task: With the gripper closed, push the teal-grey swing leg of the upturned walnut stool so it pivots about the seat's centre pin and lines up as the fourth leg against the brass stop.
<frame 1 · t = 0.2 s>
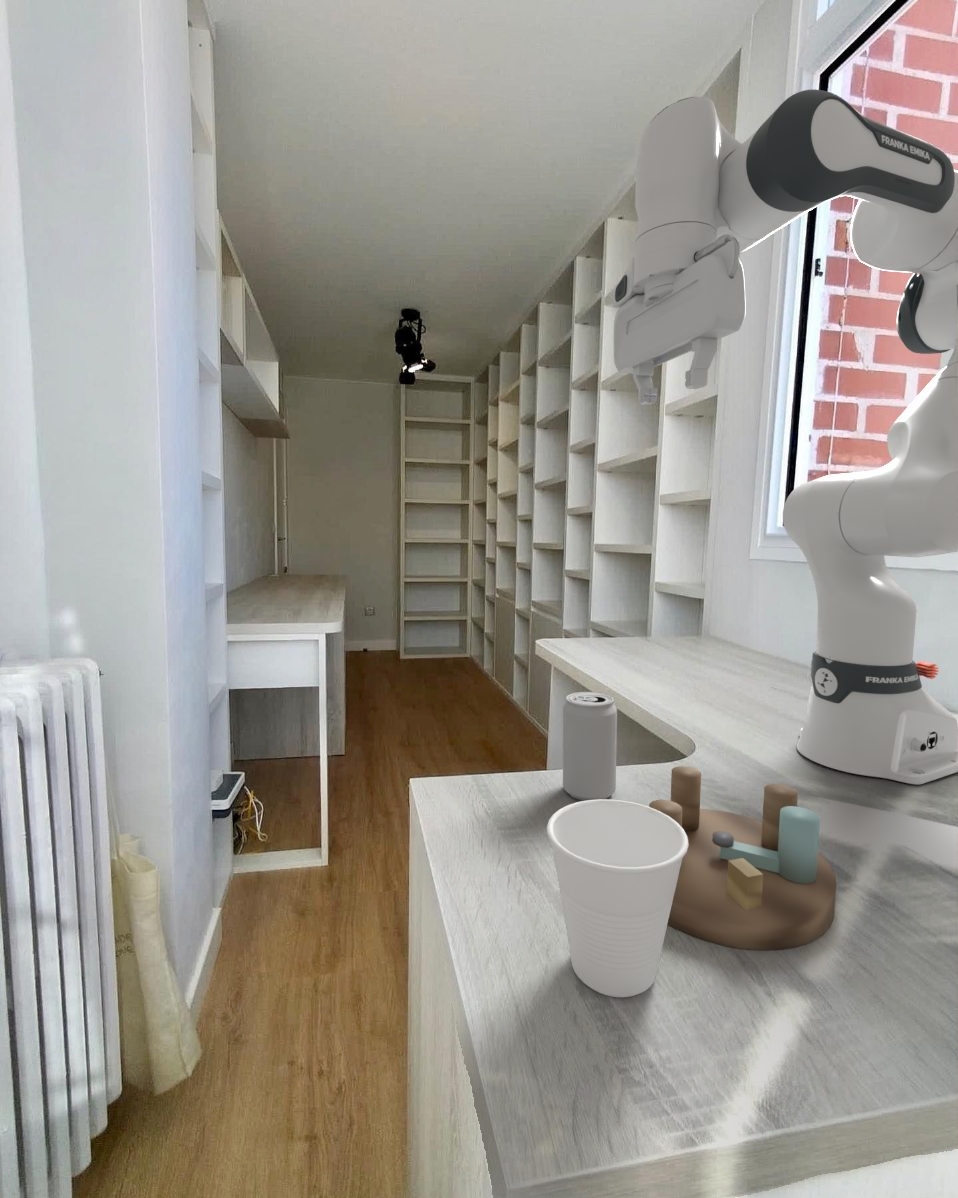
hand: (670, 396, 69), 47 cm above the table, fingers open, 8 cm apart
swing leg: (763, 836, 53), point 5 cm above the table, hinge at 45.0°
stool seat: (721, 881, 55), on the table
beverage can: (588, 794, 74), on the table
cup: (613, 971, 45), on the table
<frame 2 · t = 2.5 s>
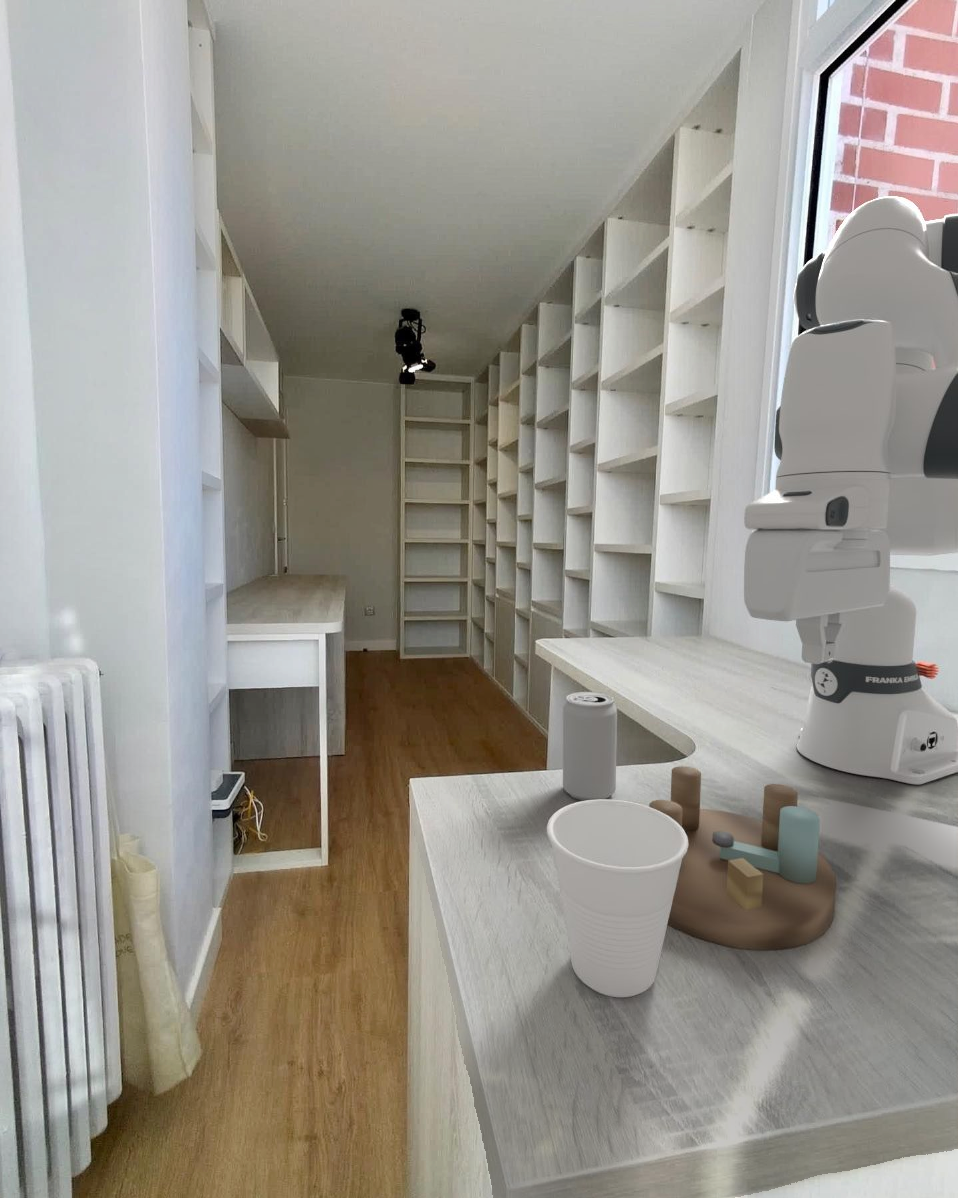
hand: (818, 661, 55), 20 cm above the table, fingers closed
nothing on the table moved.
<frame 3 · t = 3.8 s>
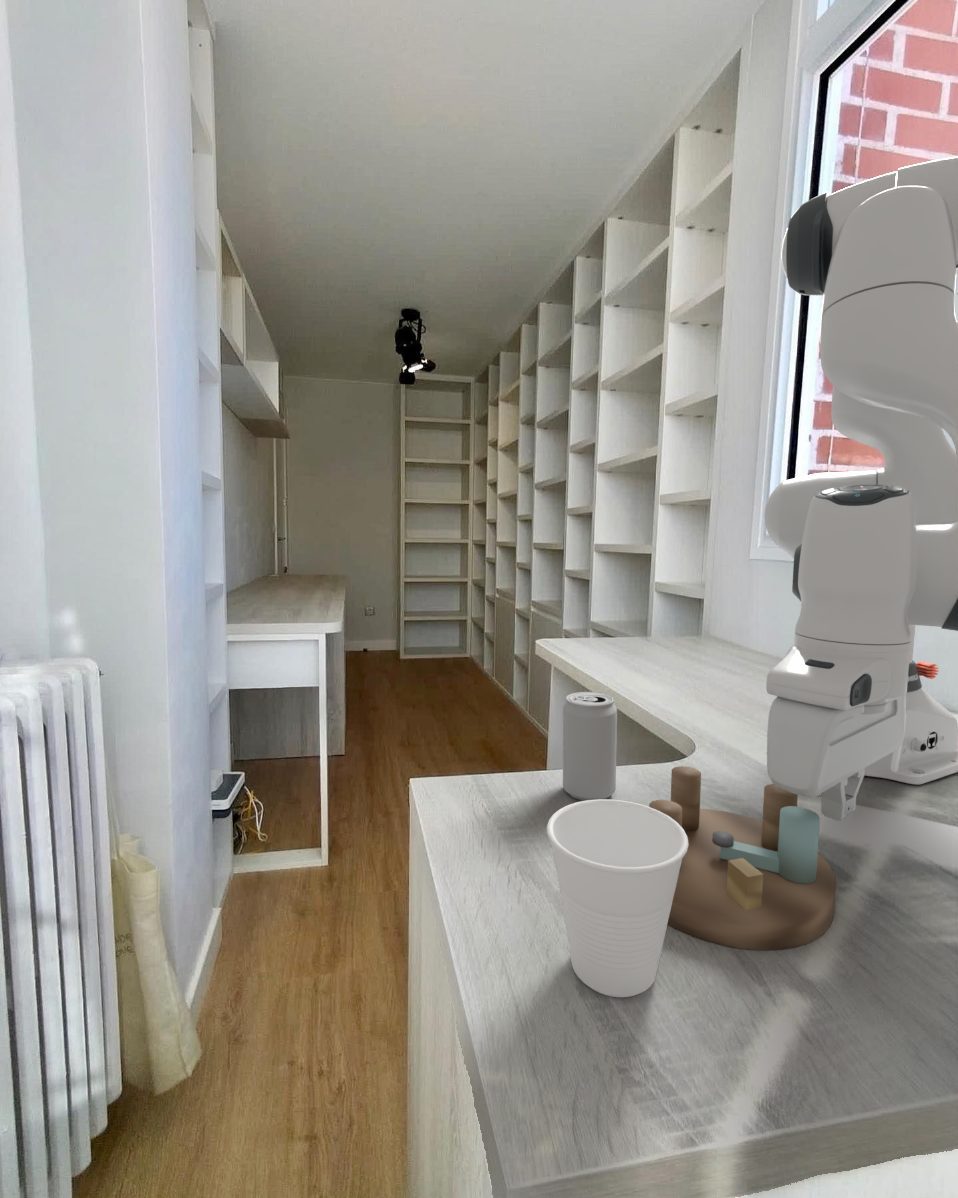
hand: (837, 814, 56), 6 cm above the table, fingers closed
nothing on the table moved.
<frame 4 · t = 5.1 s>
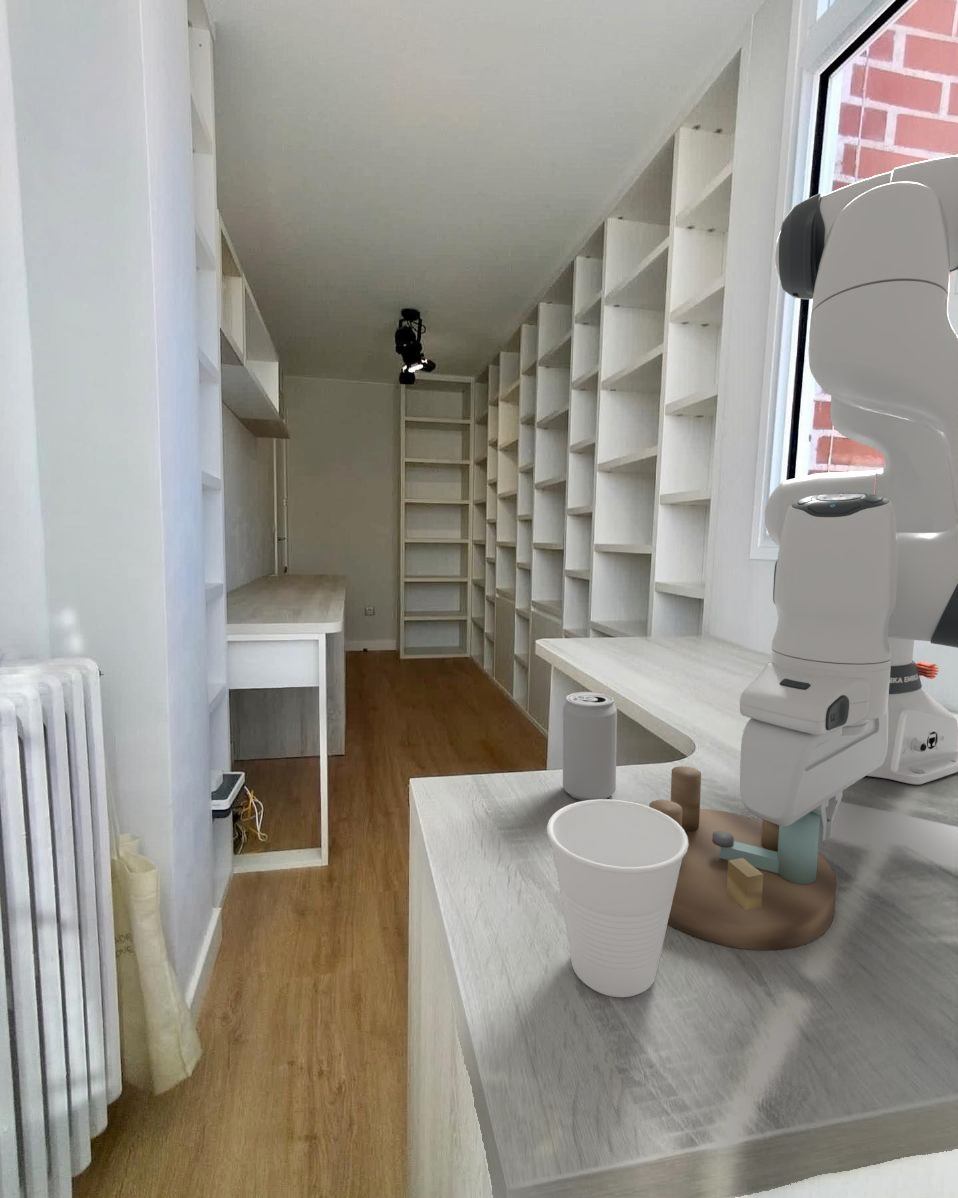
hand: (816, 837, 53), 5 cm above the table, fingers closed
swing leg: (763, 836, 53), point 5 cm above the table, hinge at 44.3°, touching gripper
everything else where it was.
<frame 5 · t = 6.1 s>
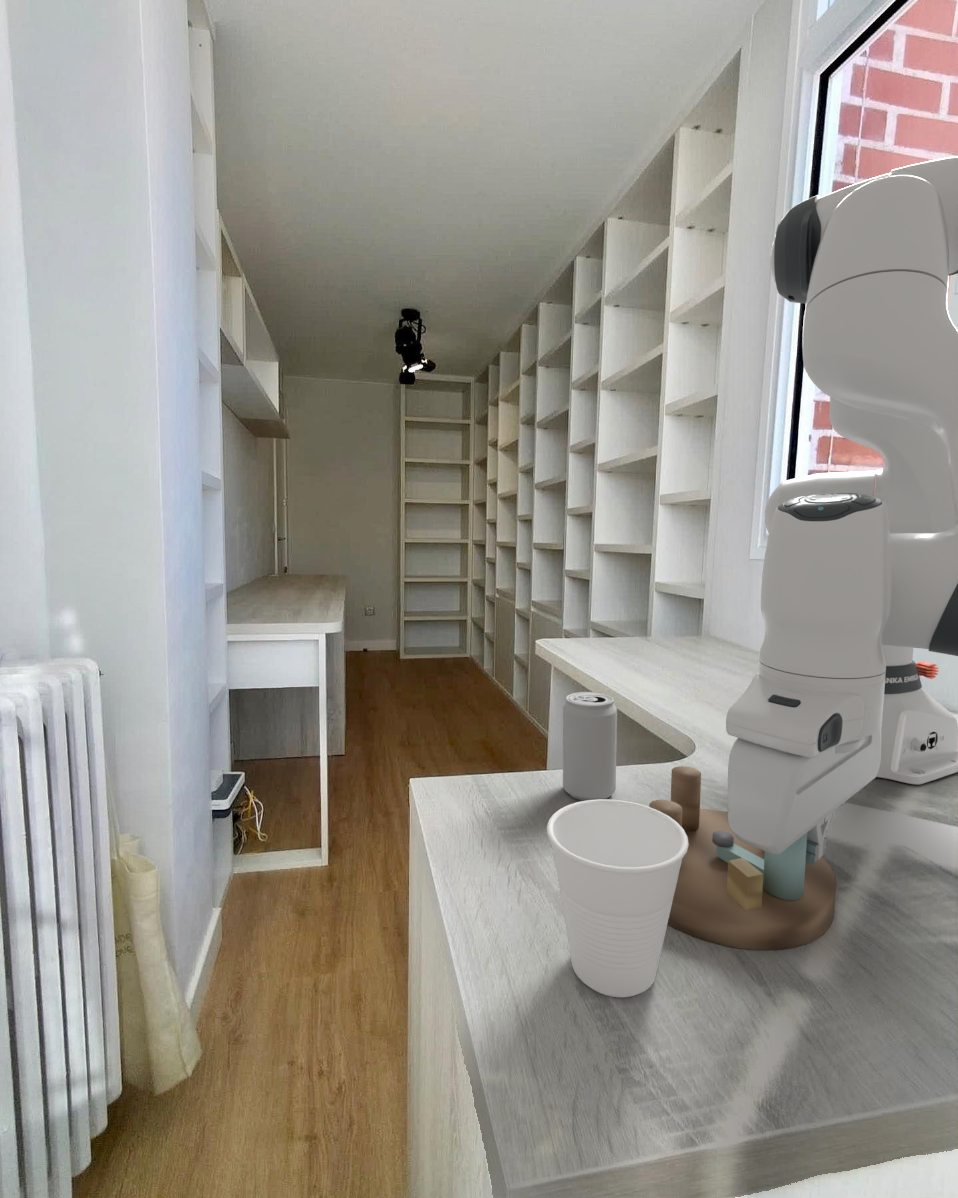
hand: (808, 857, 50), 5 cm above the table, fingers closed, pressing on swing leg
swing leg: (755, 843, 52), point 5 cm above the table, hinge at 14.7°, touching gripper
everything else where it was.
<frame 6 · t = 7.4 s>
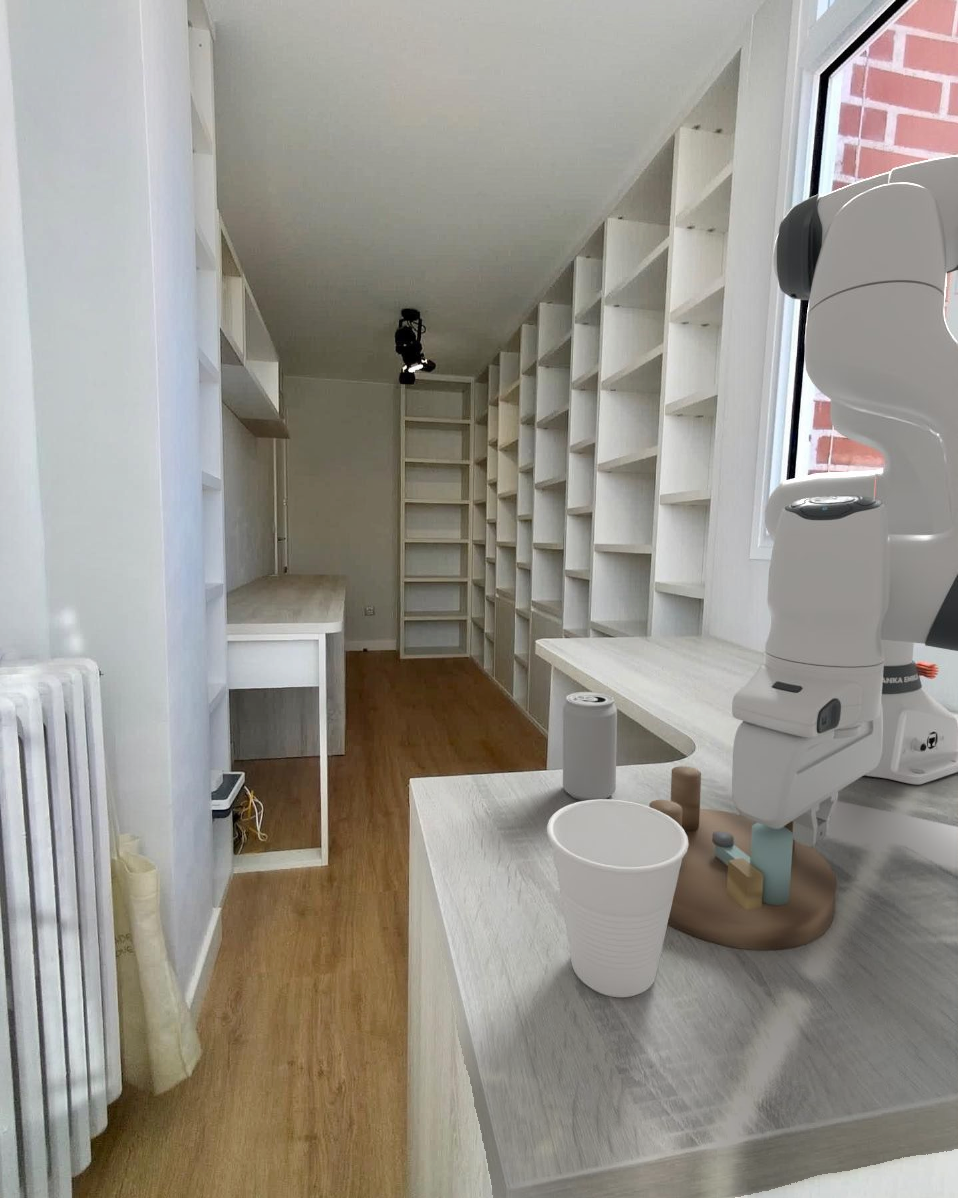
hand: (810, 839, 53), 5 cm above the table, fingers closed
swing leg: (748, 845, 52), point 5 cm above the table, hinge at -0.2°
everything else where it was.
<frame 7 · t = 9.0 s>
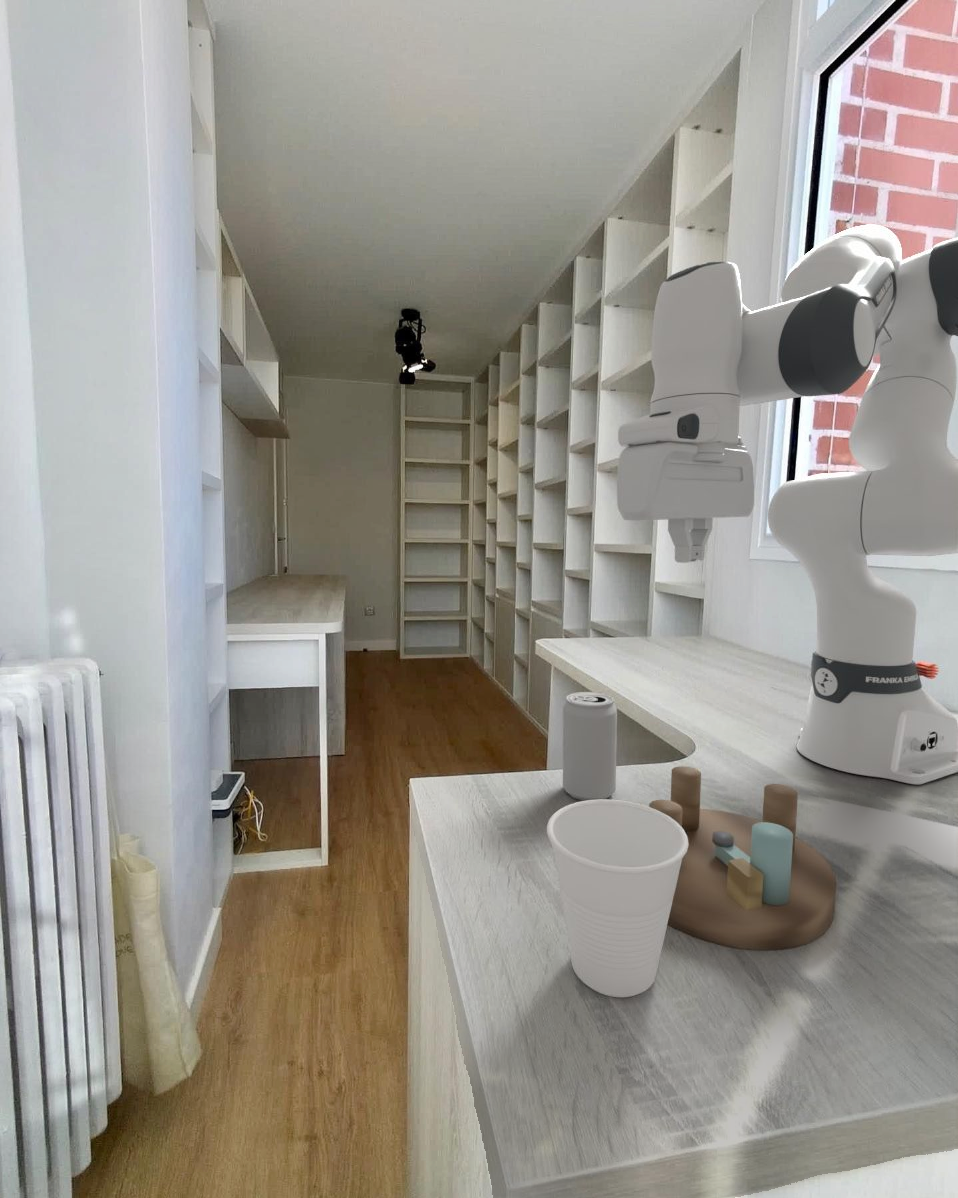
hand: (689, 561, 65), 28 cm above the table, fingers closed
nothing on the table moved.
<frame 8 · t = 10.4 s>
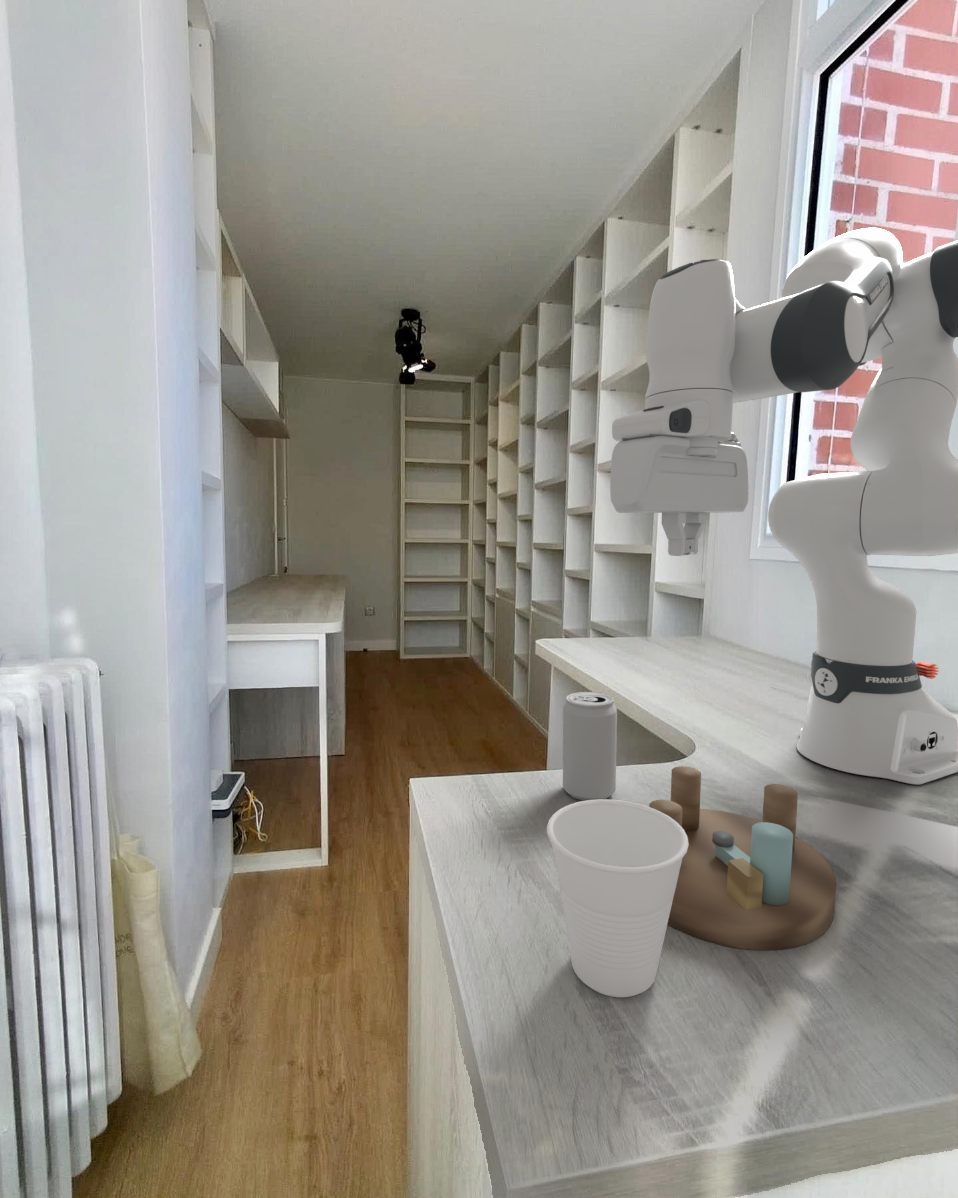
hand: (682, 555, 66), 29 cm above the table, fingers closed
nothing on the table moved.
at the end: swing leg at +0° (first picture: +45°) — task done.
